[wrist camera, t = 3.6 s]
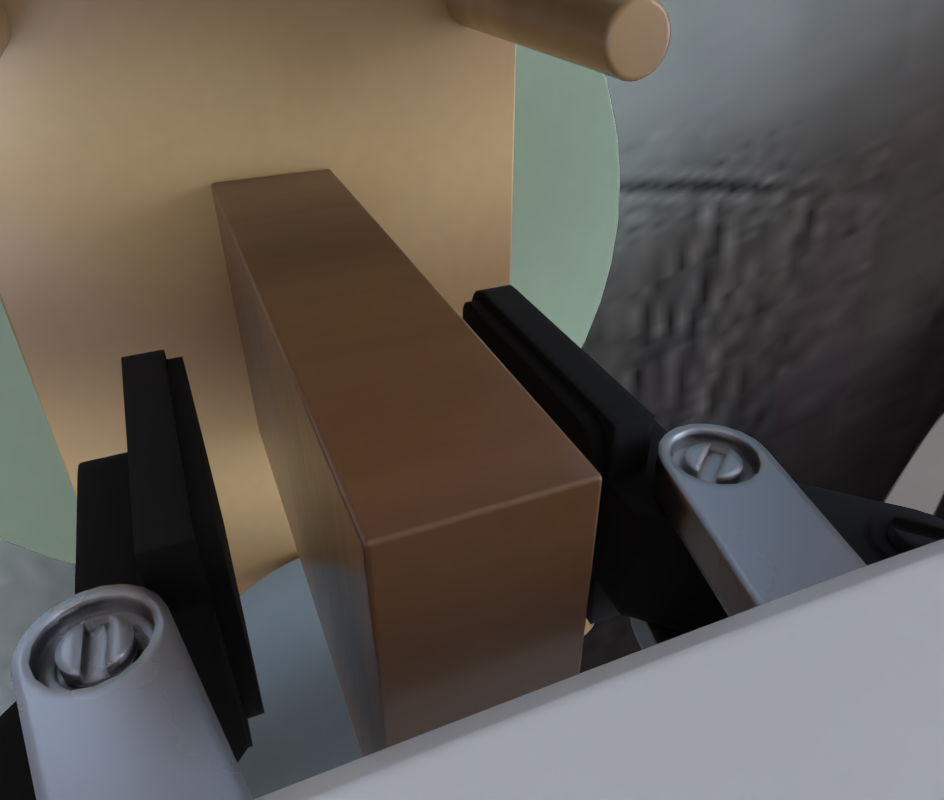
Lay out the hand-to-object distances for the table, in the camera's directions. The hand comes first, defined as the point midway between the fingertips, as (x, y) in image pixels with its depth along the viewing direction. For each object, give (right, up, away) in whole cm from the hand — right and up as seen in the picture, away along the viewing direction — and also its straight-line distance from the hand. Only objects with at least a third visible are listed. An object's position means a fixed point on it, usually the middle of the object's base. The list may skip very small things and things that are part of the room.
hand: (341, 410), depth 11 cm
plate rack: (-2, +2, +4) cm, 5 cm away
